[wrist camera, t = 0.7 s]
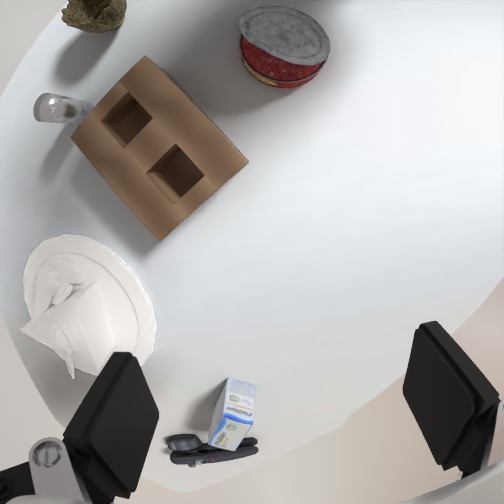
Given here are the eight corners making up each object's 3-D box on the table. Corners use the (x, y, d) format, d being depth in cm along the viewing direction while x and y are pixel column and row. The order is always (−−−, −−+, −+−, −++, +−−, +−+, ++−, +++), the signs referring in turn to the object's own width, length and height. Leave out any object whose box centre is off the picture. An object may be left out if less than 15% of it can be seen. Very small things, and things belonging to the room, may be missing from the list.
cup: (129, 44, 29) (101, 23, 21) (84, 44, 28) (52, 28, 21) (147, -2, 26) (125, -29, 19) (102, 0, 26) (75, -22, 18)
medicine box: (238, 413, 46) (235, 452, 38) (213, 406, 46) (207, 445, 38) (254, 383, 44) (254, 425, 36) (227, 376, 43) (222, 417, 35)
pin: (86, 96, 31) (45, 87, 22) (98, 111, 32) (58, 104, 23) (71, 114, 32) (29, 110, 23) (83, 129, 32) (41, 127, 24)
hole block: (162, 69, 30) (144, 55, 24) (249, 161, 34) (247, 163, 28) (95, 137, 33) (70, 137, 27) (174, 228, 36) (159, 242, 31)
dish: (139, 226, 37) (97, 255, 26) (170, 379, 44) (152, 430, 34) (13, 238, 38) (-33, 261, 27) (54, 364, 45) (25, 401, 35)
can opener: (177, 450, 51) (172, 471, 46) (165, 431, 49) (159, 453, 44) (261, 447, 50) (261, 470, 45) (255, 428, 48) (255, 451, 42)
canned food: (241, 52, 33) (217, -1, 24) (314, 34, 31) (305, -22, 22) (259, 115, 31) (233, 58, 22) (345, 94, 29) (345, 32, 20)
